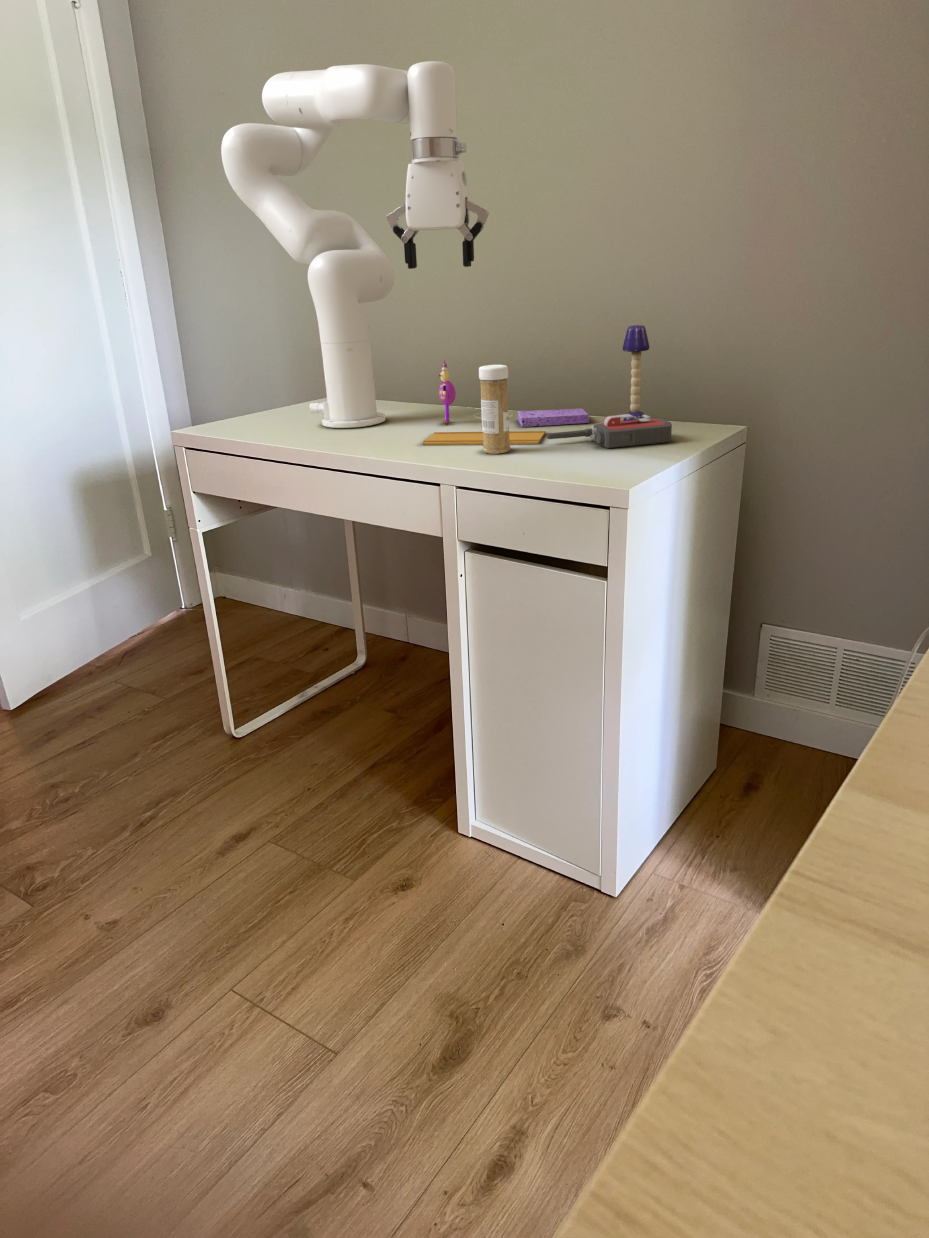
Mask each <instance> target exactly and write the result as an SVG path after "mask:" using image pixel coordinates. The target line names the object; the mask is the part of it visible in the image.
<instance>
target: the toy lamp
mask: <svg viewBox="0 0 929 1238" xmlns="http://www.w3.org/2000/svg"><path fill="white" fill-rule="evenodd" d="M649 350H650V343H649V337H648V334H647V328H646V326H645V325H642V324H636V325H635V324H634V325H629V326H627V329H626V333H625V337H624V340H623V344H622V351H623V352H627V353H630V357H631V362H630V366H631V370H630V376H631V379H630V385H631V387H630V406H629V410H630V411H629V412H627V413H626V414H630V415H632V416H634V417H636V418H637V419H642V418H644V417H643V415H646V413H644V412H643V411H640V410H641V404H640V402H641V395H640V394H641V392H642V391H641V390H642V388H641V384H642V379H641V375H642V369H641V367H642V360H641V358H642V352H646V351H649ZM633 420H635V419H633V418H623V421H633ZM623 421H622V422H623ZM636 421H637V420H636Z"/></svg>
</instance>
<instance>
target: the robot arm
mask: <svg viewBox="0 0 929 1238" xmlns="http://www.w3.org/2000/svg"><path fill="white" fill-rule="evenodd" d="M456 96H457V93H456V75H455V70H454V68H453V66H452V65H451V64H450V63H447V62H445V61H438V60H437V61H433V60H430V61H429V60H428V61H420V62H417V63H413V64H412V65H411V66H409V68H408V70H405V69H399V68H395V67H389V66H383V65H376V64H371V63H369V64H368V63H357V64H355V63H354V64H342V65H332V66H329V67H327V68H325V69H315V70H314V69H313V70H297V71H296V70H295V71H284V72H279V73H276V74H274V75H273V76H271V77H269V79H268V80H267V81H266V82H265V84H264V86H263V88H262V92H261V102H262V105H263V108H264V111H265V112H266V114H267V115H268V117H269V118H270V119H271V120H272V121H274V122H275V123H276V124H267V123H258V122H257V123H254V122H246V123H240V124H237V125H234V126H232V127H231V128H229V129H228V130H227V131H226V132H225V134H224V135H223V137H222V140H221V145H220V146H221V148H220V153H221V161H222V166H223V170H224V173H225V176H226V178H227V181H228V183H229V185H230V187H231V188H232V190H233V191H234V193H235V194H236V195H237V197H238V198H239V199H240V200H241V202H242V203H243V204H244V205H245V206H246V207H247V208H248V209H249V210H250V211H251V212H252V213H254V215H255V216H256V217H257V218H258V219H259V220H260V221H261V222H262V223H263V225H264V226H265V227H266V229H267V230H268V231H269V232H270V234H272V236H273V237H274V239H276V241H277V242H278V243H279V244H280V245H281V247H282V248H283V249H284V250H285V251H286V252H287V253H288V255H289V256H290V257H291V258H292V259H293V260H294V261H295V262H297V263H298V264H302V265H308V270H307V283H308V284H307V285H308V289H309V293H310V295H311V299H312V302H313V305H314V309H315V314H316V319H317V325H318V331H319V340H320V348H321V356H322V366H323V374H324V383H325V390H326V391H325V392H326V400H324V401H322V402H321V403H320V402H310V403H309V411H310V413H311V414H322V415H324V416H323V418H322V419H321V425H322V426H324V427H326V428H333V429H352V428H363V427H369V426H375V425H378V424H382V423H384V422H385V421H386V414H385V413H383V412H380V411H378V410H377V408H378V407H377V398H376V389H375V387H376V386H375V377H374V367H373V366H374V365H373V355H372V345H371V332H370V327H369V323H368V320H367V318H366V315H365V314H364V312H363V310H362V308H361V306H360V304H363V303H364V304H365V303H372V302H378V301H381V300H383V299H385V298H386V297H387V296H388V295H389V294H390V293H391V292H392V289H393V287H394V283H395V275H394V269H393V267H392V264H391V261H390V259H389V258H388V256H387V255H386V254H385V253H384V251H383V250H382V248H380V247H379V245H378V244H377V243H376V242H375V241H374V239H373V238H372V237H371V236H370V235H369V233H368V232H367V231H366V230H365V229H364V228H363V227H362V226H361V224H360V223H359V222H358V221H357V220H356V219H355V218H354V217H352V216H351V215H349V214H347V213H346V212H343V211H341V210H335V209H316V208H312V207H311V206H309V205H308V204H307V203H306V202H305V201H304V200H303V199H302V197H300V195H299V194H298V193H297V192H296V191H295V189H294V188H292V187H291V186H290V185H289V184H288V183H286V182H285V181H283V180H282V179H280V178H278V177H277V176H280V177H281V176H282V177H283V176H284V177H294V176H295V177H296V176H299V175H302V174H303V173H305V172H306V171H307V170H308V168H309V167H310V166H311V165H312V163H313V162H314V160H315V159H316V158H317V155H318V154H319V152H320V151H321V149H322V148H323V146H324V145H325V143H326V142H327V139H329V137H330V136H331V133H332V132H333V130H334V128H336V127H341V126H342V125H344V124H345V123H346V122H347V121H348V120H365V121H376V122H377V121H378V122H385V123H392V124H400V125H409V132H410V133H409V136H410V137H409V138H410V153H411V155H410V156H411V163H408V165H407V171H406V181H405V203H403V204H402V205H400V206H399V207H397V208H396V209H395V210H393V211H391V212H390V213H388V214H387V215H386V220H387V222H388V224H389V226H390V228H391V229H392V233H393V234H394V235H395V236H397V238H398V239H399V240H400V241H401V243H402V244H403V250H404V251H403V252H404V262H405V264H407V269H410V270H414V269H416V268H417V267H418V262H417V260H418V259H417V245H416V243H415V242H414V239H415V237H416V236H417V234H418V233H419V232H420V231H437V230H438V231H439V230H440V231H441V230H458V231H459V232H460V234H461V235H462V236H463V241H462V244H461V245H462V246H461V247H462V265H463V266H462V267H464V268H469V267H472V262H474V261H475V247H474V246H475V243H474V241H475V240H476V238H477V236H478V235H479V234H480V233H481V232H482V231H483V230H484V227H485V224H486V222H487V221H488V217H489V215H490V212H489V210H488V209H486V208H484V207H483V206H481V205H479V204H477V203H475V202H473V201H471V200H470V199H469V189H468V182H467V175H466V170H465V164H464V162H463V161H461V160H459V158H460V155H461V154H462V153H467V144H466V142H461V141H459V139H458V124H457V123H458V122H457V97H456ZM470 212H472V213H474V214H475V215H477V219H476V222H475V223H474V224H473V226H472V227H470V226H469V225H470V220H471V215H470V214H471V213H470ZM403 216H405V221H406V226H407V227H406V229H404V228H403V227H402V226H401V225H400V222H399V219H400V218H401V217H403Z"/></svg>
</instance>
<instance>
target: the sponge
mask: <svg viewBox="0 0 929 1238" xmlns="http://www.w3.org/2000/svg"><path fill="white" fill-rule="evenodd" d="M589 419H590V414H589V413H587V412H586V411H585V410H584V409H583V408H569V409H568V408H565V409H547V410H542V409H541V410H539V409H538V410H518V411H517V420H518V422H519V423H518V424H519V425H520V427H522V428H525V427H528V428H529V427H543V426H544V427H545V426H561V425H576V424H588V423H590V421H589Z"/></svg>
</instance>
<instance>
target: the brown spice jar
mask: <svg viewBox="0 0 929 1238" xmlns="http://www.w3.org/2000/svg"><path fill="white" fill-rule="evenodd" d="M508 378H509V367H508V366H507V365H506V364H488V365H487V364H486V365H482V366H479V367H478V379H479V380H480V381H479V382H480V409H481V410H480V411H481V412H480V413H481V432H483V444H482V445H483V447H482V451H483V453H485V454H490V455H498V454H499V455H500V454H505V453H508V452H509V451H510V450H511V444H510V443H509V431H510V418H509V416H510V415H509V414H510V413H509V401H508V400H509V399H508V396H509V395H508Z"/></svg>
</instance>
